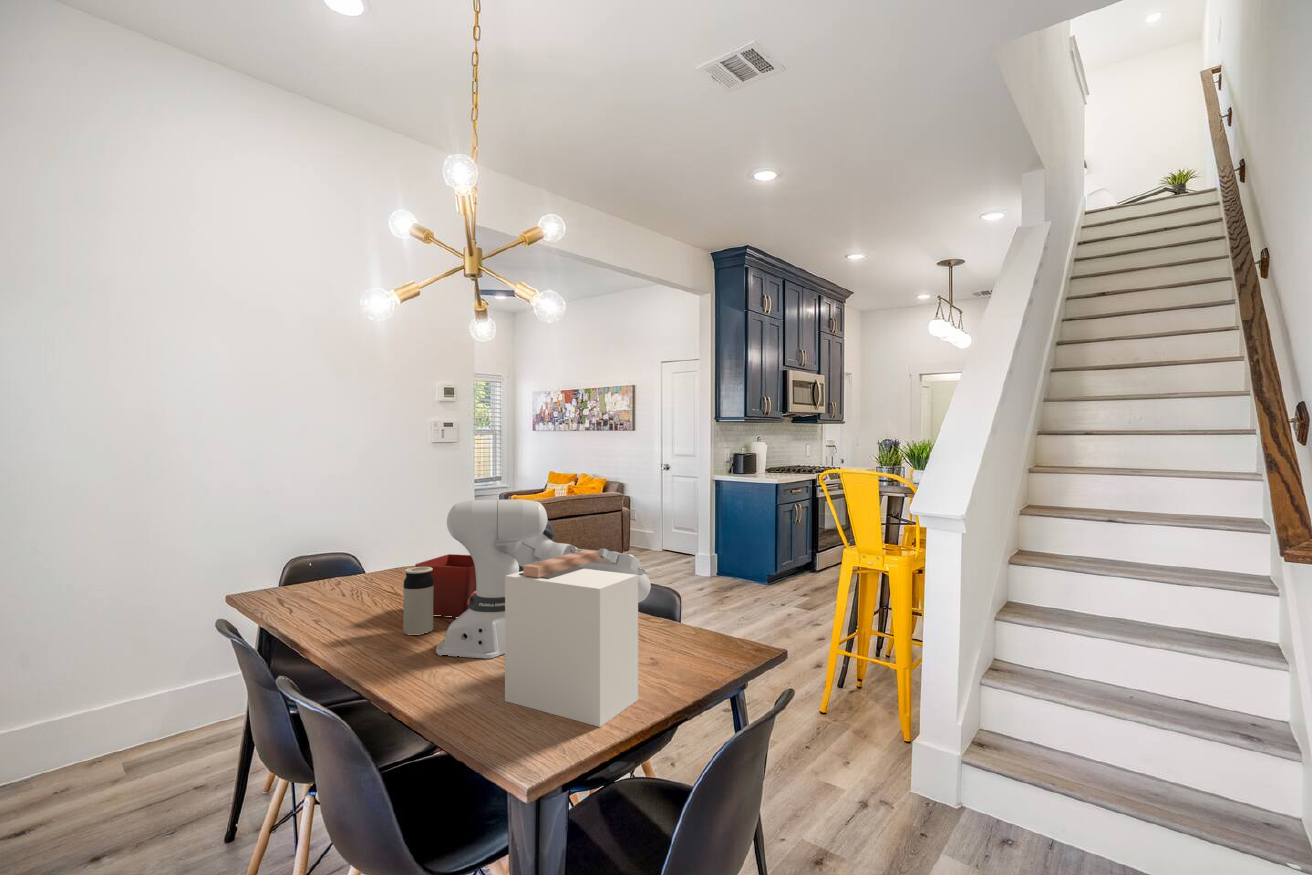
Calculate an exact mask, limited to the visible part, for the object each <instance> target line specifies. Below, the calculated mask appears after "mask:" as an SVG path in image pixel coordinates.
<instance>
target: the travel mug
mask: <svg viewBox="0 0 1312 875" xmlns="http://www.w3.org/2000/svg"><path fill="white" fill-rule="evenodd" d="M432 570H433V569H432V568H431V567H416V566H415V567H409V568H406V569H404V572H405V576H406V577H405V579H404V581H403V617H402V618H403V620H402V622H403V629H402V632H403V631H404V633H407V634H422V633H426V632H429V631H431V632H433V631H432V630H434V616H433V578H432V576H431V572H432ZM404 633H403V634H404Z"/></svg>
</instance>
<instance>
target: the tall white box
mask: <svg viewBox="0 0 1312 875" xmlns="http://www.w3.org/2000/svg"><path fill="white" fill-rule="evenodd" d="M638 700H639V603H638V575H634V574H625V573H617V572H609V571H600V570H592V569H584V567H578V566H576V567H573V568H569V569H566V570H562V571H559V572H555V573H552V574H548V575H545V576H542V577H532V576H524V575H523V571H522V572H518V573H514V574H510V575H507V576H505V654H504V701H505V702H507V703H511V704H516V705H519V706H522V707H526V708H530V709H534V710H537V711H540V712H544V713H547V714H552V715H556V716H558V717H563V718H566V719H568V720H569V719H570V720H573V721H577V722H580V723H585V724H587V725H591V726H595V727H599V728H601V727H603V726H604V725H605V724H607V723H608V722H610V720H612V719H613V718H615V717H616V716H617V715H619V714H620V713H622V712H623V711H624V710H626V709H627V708H629V707H630V706H632V705H633V704H634V703H635V702H637V701H638Z"/></svg>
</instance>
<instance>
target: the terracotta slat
mask: <svg viewBox="0 0 1312 875" xmlns="http://www.w3.org/2000/svg"><path fill="white" fill-rule="evenodd" d="M594 550H595V549H586V550H583V551H579V552H575V553H571V554H567V555H564V556H560V557H556V558H552V559H548V560H544V561H540V562H538V561H537V562H536V563H532V564H528V565H524V566H523V575H524V576H532V577H542V576H545V575H548V574H552V573H555V572H559V571H562V570H566V569H569V568H573V567H576V566H579V565H583V564H586V563H590V562H593V561H597V560H600V556H598V552H599V551H597V550H595V551H594Z"/></svg>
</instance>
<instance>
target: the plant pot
mask: <svg viewBox="0 0 1312 875" xmlns="http://www.w3.org/2000/svg"><path fill="white" fill-rule="evenodd" d="M414 565H415V567H431V568H432V569H433V570H432V572H431V576H432V578H433V615H441V616H452V617H459V616H460V615H461V614H462V613H464V612H465V611H466V610H467V609H469V604H467V603H468V601H467V600H468V599H469V597H470V596H471V594H472V593H473V592H474V591H476V573H475V565H474V562H473V559H472V557H471V555H470V554H468V555H467V554H453V553H451V554H450V553H449V554H445V555H441V556H438V557H435V558H431V559H427V560H424V561H421V562H418V563H415V564H414Z"/></svg>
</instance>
